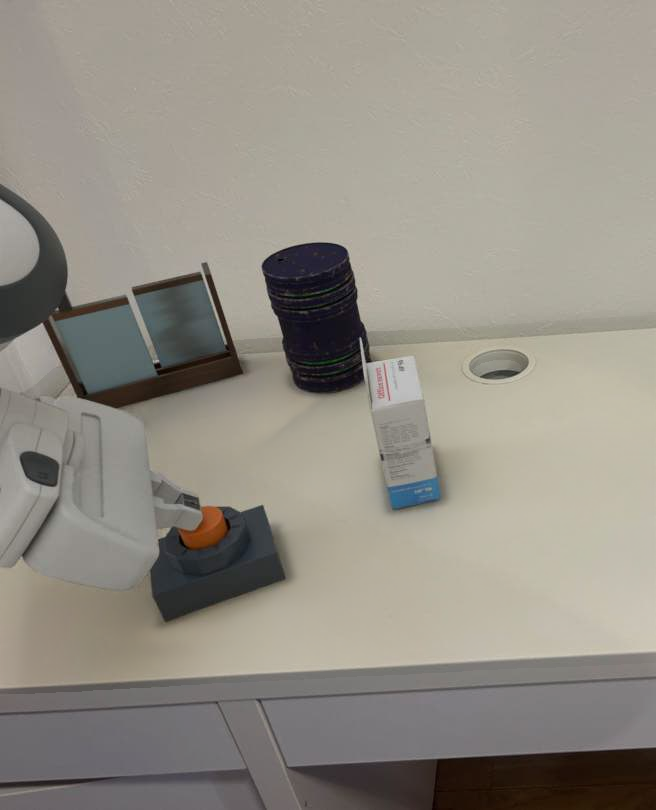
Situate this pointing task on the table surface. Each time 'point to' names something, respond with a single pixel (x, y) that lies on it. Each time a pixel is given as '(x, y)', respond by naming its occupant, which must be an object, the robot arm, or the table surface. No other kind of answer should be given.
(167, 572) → the button block
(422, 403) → the ink box
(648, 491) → the table surface
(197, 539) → the release button
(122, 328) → the window pane
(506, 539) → the table surface
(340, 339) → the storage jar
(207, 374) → the window frame
